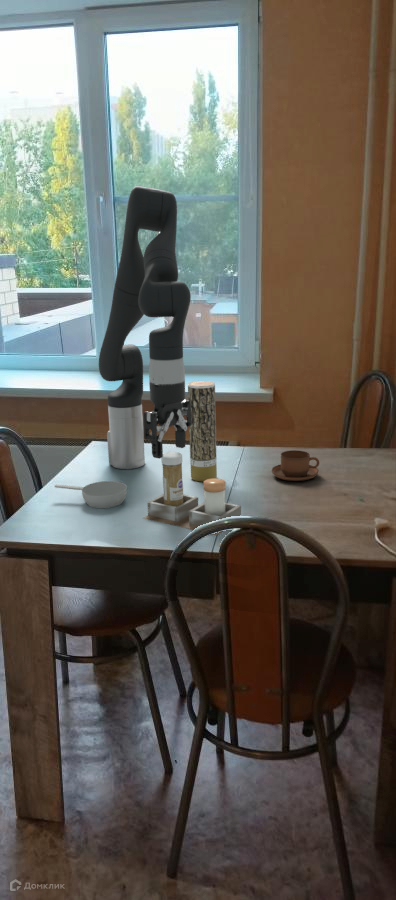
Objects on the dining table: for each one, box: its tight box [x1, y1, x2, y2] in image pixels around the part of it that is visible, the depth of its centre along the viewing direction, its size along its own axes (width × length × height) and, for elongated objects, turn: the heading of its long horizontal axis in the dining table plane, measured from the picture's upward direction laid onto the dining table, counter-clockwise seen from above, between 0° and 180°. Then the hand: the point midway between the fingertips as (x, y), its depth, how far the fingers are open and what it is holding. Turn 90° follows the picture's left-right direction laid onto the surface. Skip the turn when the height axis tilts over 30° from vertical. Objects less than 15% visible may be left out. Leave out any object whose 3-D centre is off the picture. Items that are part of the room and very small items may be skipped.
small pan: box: [54, 480, 128, 509], centre depth 166 cm, size 11×18×4 cm, turn 78°
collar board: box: [143, 493, 242, 536], centre depth 151 cm, size 19×12×4 cm, turn 57°
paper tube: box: [187, 380, 218, 483], centre depth 176 cm, size 7×7×25 cm
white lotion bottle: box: [203, 477, 226, 516], centre depth 147 cm, size 5×5×9 cm
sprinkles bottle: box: [160, 451, 184, 507], centre depth 153 cm, size 5×5×14 cm
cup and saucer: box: [271, 449, 320, 482], centre depth 179 cm, size 12×12×6 cm
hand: (169, 452), depth 150 cm, fingers open, 8 cm apart
